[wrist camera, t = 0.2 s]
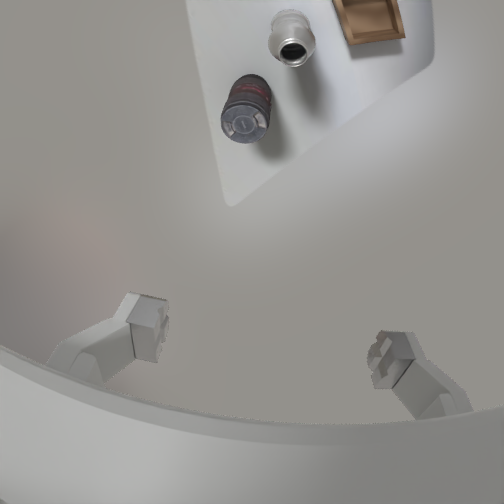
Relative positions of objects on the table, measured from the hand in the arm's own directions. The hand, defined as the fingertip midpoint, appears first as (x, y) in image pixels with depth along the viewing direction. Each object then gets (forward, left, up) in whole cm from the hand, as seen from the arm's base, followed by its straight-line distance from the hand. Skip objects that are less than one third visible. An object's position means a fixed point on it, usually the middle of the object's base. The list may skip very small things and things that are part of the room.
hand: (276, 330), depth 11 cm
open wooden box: (+2, +15, -53) cm, 55 cm away
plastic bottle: (+2, +1, -54) cm, 54 cm away
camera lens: (+13, -11, -54) cm, 56 cm away
